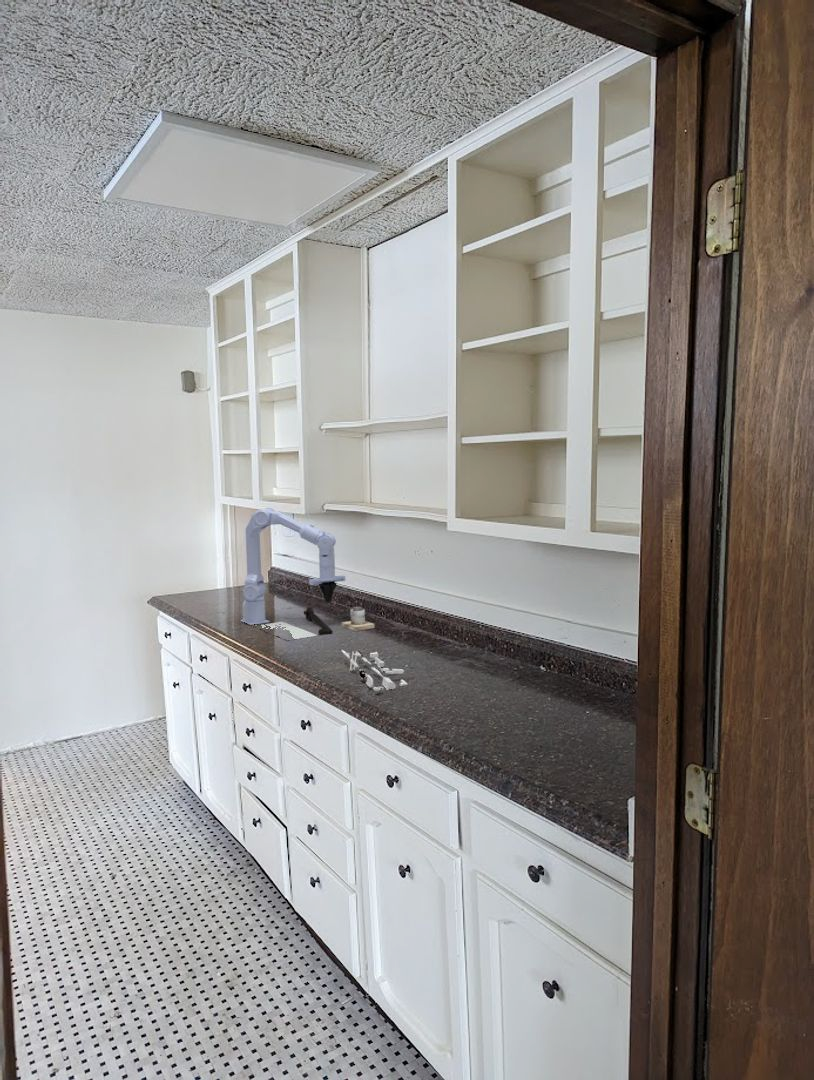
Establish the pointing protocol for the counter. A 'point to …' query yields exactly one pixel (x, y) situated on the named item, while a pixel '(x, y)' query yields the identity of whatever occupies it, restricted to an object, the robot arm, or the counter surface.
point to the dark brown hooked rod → (317, 621)
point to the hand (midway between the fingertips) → (328, 601)
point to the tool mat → (291, 630)
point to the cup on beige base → (358, 620)
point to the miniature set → (386, 681)
